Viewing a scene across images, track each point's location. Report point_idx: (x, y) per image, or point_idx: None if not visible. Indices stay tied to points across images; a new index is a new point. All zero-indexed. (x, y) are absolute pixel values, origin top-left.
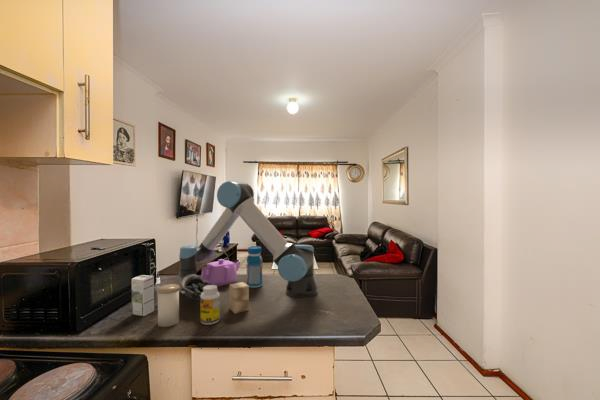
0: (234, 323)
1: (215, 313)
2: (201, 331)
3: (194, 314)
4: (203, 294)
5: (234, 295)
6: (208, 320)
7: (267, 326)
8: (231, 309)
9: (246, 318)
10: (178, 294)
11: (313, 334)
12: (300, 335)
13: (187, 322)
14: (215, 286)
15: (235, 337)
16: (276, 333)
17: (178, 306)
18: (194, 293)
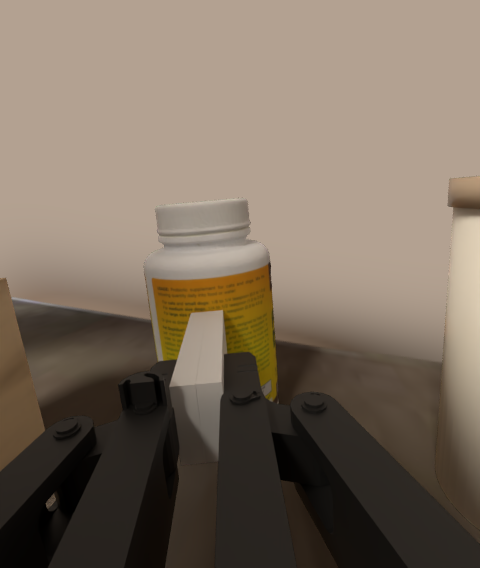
0: (139, 371)
1: None
2: (282, 360)
3: (316, 559)
4: (249, 242)
5: (16, 333)
6: None
7: (73, 338)
8: None
9: (65, 386)
10: (450, 252)
11: (41, 306)
12: (63, 308)
13: None
14: (169, 204)
15: None
16: (92, 318)
17: (443, 357)
18: (309, 393)
